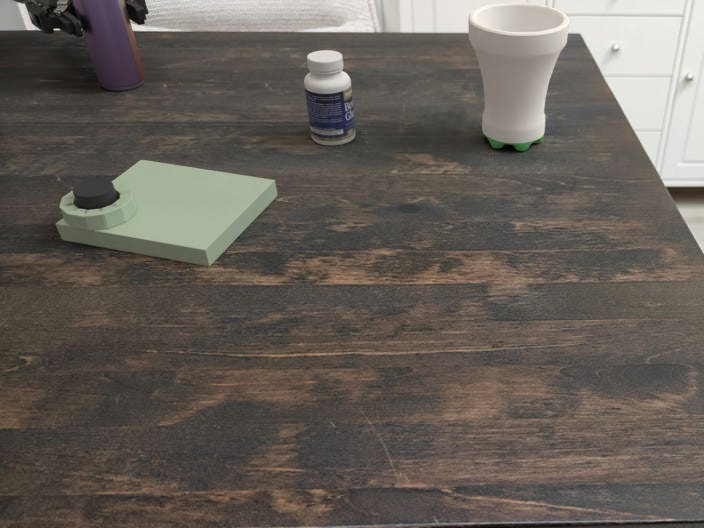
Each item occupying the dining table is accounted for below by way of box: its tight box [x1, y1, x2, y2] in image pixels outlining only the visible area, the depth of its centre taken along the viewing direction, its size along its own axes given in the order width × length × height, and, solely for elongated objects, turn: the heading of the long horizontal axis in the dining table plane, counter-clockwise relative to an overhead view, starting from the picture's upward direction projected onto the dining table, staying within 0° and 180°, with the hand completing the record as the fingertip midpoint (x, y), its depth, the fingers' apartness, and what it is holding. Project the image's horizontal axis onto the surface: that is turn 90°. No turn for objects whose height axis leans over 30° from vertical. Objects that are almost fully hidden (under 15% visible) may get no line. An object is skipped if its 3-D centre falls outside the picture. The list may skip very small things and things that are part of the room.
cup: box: [467, 1, 570, 152], centre depth 86 cm, size 11×11×14 cm
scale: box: [55, 159, 278, 267], centre depth 75 cm, size 16×14×4 cm
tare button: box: [72, 178, 118, 210], centre depth 71 cm, size 4×4×2 cm
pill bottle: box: [303, 49, 356, 147], centre depth 87 cm, size 5×5×10 cm
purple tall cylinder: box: [73, 0, 146, 92], centre depth 97 cm, size 6×6×15 cm
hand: (110, 22), depth 95 cm, fingers open, 7 cm apart
